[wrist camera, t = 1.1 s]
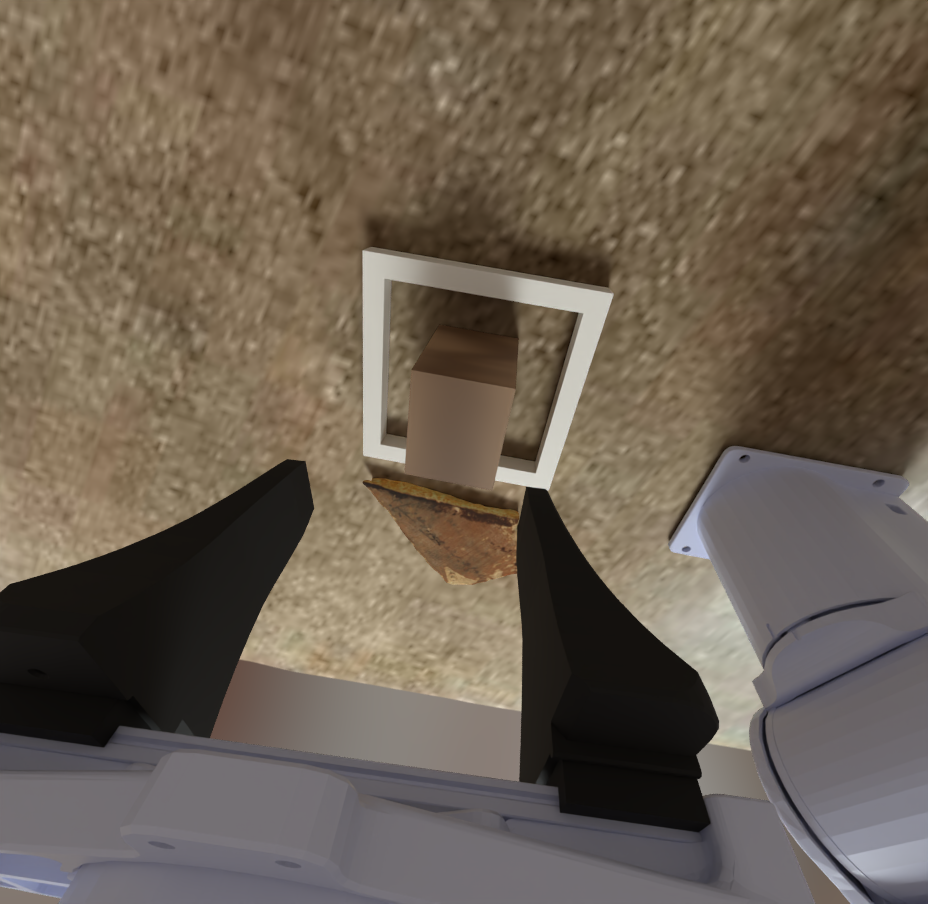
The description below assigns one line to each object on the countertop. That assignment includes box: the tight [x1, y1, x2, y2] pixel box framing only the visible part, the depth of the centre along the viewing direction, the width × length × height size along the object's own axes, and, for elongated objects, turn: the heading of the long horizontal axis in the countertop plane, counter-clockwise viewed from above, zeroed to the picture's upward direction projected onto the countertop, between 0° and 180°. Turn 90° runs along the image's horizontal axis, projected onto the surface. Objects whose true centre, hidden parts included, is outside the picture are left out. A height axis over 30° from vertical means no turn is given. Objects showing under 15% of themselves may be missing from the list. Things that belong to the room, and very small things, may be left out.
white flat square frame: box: [363, 247, 614, 490], centre depth 21 cm, size 11×11×1 cm
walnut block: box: [404, 325, 519, 490], centre depth 19 cm, size 4×5×6 cm
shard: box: [363, 478, 519, 585], centre depth 27 cm, size 11×8×2 cm
